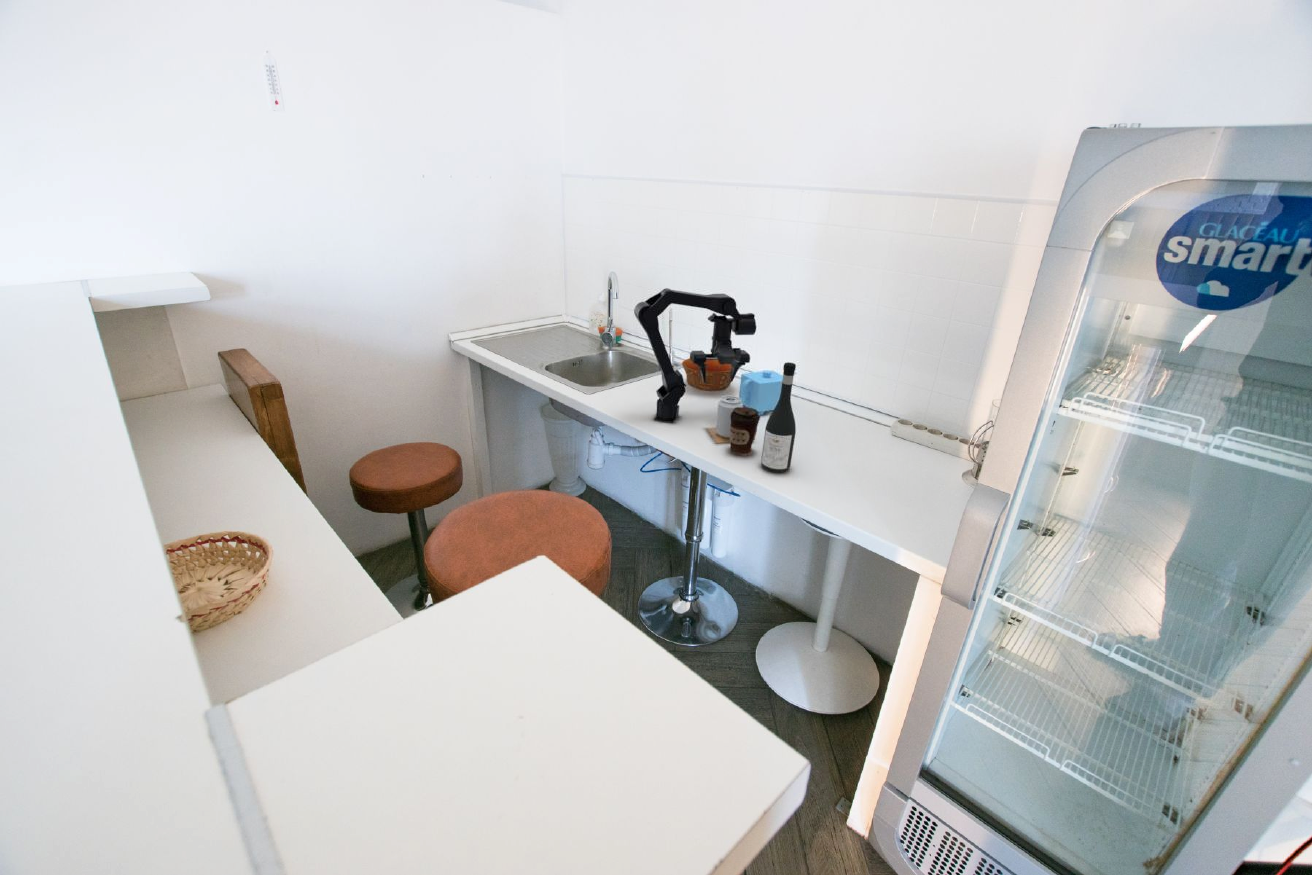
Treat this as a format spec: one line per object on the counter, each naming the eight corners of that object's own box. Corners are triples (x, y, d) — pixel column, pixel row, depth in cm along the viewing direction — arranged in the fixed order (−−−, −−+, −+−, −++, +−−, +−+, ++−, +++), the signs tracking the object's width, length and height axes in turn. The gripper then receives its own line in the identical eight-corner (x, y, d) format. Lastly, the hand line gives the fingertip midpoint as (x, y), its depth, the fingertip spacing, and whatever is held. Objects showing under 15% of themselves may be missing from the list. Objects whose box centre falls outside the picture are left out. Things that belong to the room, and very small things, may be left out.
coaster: (716, 443, 173) (716, 442, 173) (706, 429, 183) (706, 428, 183) (750, 441, 176) (750, 441, 176) (739, 427, 185) (739, 427, 185)
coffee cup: (745, 460, 163) (750, 418, 158) (720, 452, 168) (724, 410, 163) (760, 451, 170) (765, 410, 165) (735, 443, 174) (740, 402, 169)
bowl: (672, 381, 225) (674, 356, 221) (723, 378, 231) (725, 354, 227) (691, 400, 207) (693, 373, 203) (745, 396, 213) (748, 370, 209)
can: (737, 430, 183) (741, 394, 178) (741, 439, 176) (745, 403, 171) (714, 429, 183) (717, 393, 178) (717, 439, 176) (720, 402, 171)
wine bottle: (785, 476, 156) (801, 370, 143) (757, 469, 159) (770, 365, 147) (792, 465, 162) (808, 362, 150) (765, 458, 165) (779, 357, 153)
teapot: (748, 417, 193) (753, 378, 188) (731, 406, 203) (735, 368, 197) (801, 410, 202) (807, 372, 197) (782, 399, 211) (787, 363, 206)
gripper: (700, 342, 173) (696, 391, 180) (758, 341, 177) (753, 389, 183) (691, 333, 183) (687, 379, 190) (746, 332, 187) (741, 378, 193)
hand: (717, 382), depth 189 cm, fingers open, 9 cm apart
